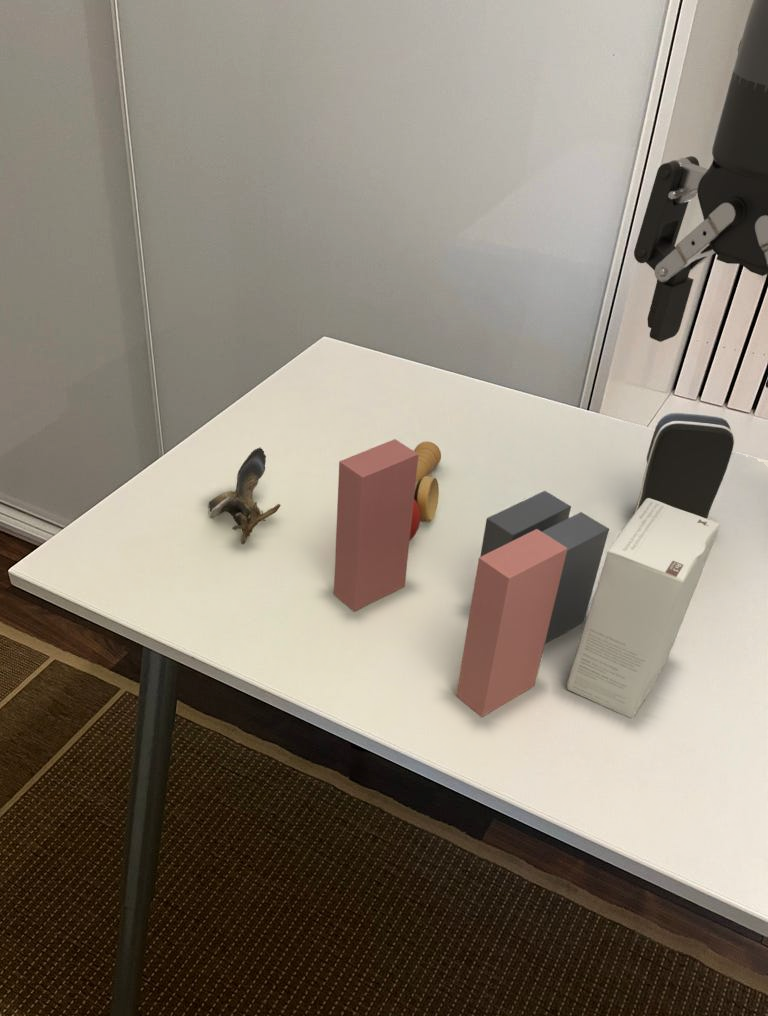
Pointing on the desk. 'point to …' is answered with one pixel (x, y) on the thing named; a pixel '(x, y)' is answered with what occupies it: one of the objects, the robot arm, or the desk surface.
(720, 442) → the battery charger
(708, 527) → the cosmetic box
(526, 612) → the rose book
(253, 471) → the eagle figurine
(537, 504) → the grey book
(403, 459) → the rose book
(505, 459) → the desk surface
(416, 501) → the kendama
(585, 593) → the grey book
